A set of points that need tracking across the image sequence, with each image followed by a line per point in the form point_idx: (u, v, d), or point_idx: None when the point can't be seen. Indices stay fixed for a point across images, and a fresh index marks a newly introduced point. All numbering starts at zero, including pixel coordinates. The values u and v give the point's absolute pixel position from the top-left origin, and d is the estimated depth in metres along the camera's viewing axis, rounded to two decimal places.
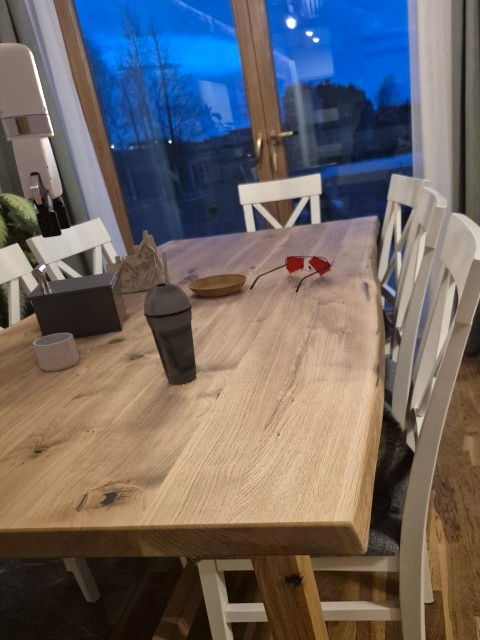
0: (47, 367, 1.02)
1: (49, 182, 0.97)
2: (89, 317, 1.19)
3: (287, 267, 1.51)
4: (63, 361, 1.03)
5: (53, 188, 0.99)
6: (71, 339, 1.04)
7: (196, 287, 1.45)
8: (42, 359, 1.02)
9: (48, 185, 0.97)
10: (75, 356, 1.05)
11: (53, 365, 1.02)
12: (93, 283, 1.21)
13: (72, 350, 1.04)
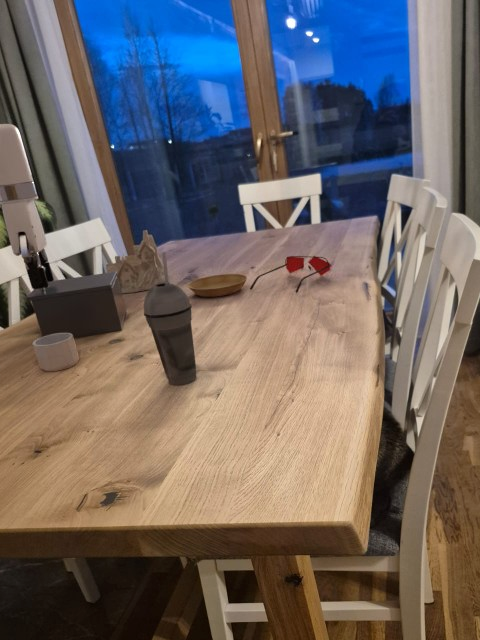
0: (47, 367, 1.02)
1: (34, 240, 1.13)
2: (89, 317, 1.19)
3: (287, 267, 1.51)
4: (63, 361, 1.03)
5: (37, 244, 1.15)
6: (71, 339, 1.04)
7: (196, 287, 1.45)
8: (42, 359, 1.02)
9: (33, 242, 1.13)
10: (75, 356, 1.05)
11: (53, 365, 1.02)
12: (93, 283, 1.21)
13: (72, 350, 1.04)
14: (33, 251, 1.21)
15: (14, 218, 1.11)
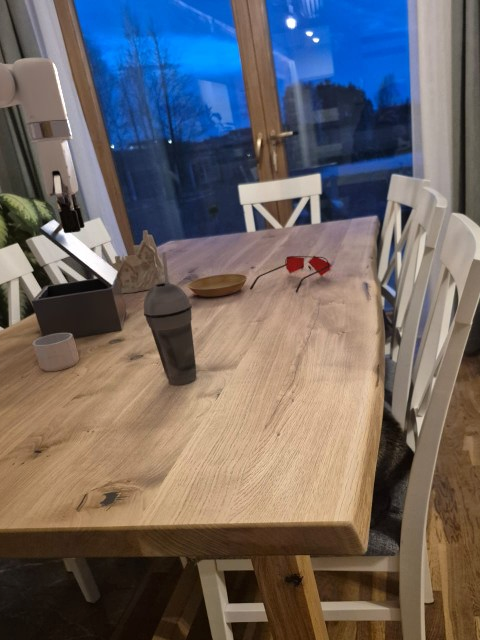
0: (47, 367, 1.02)
1: (68, 180, 1.10)
2: (89, 317, 1.19)
3: (287, 267, 1.51)
4: (63, 361, 1.03)
5: (71, 185, 1.12)
6: (71, 339, 1.04)
7: (196, 287, 1.45)
8: (42, 359, 1.02)
9: (67, 182, 1.10)
10: (75, 356, 1.05)
11: (53, 365, 1.02)
12: (98, 268, 1.20)
13: (72, 350, 1.04)
14: None
15: (49, 156, 1.08)
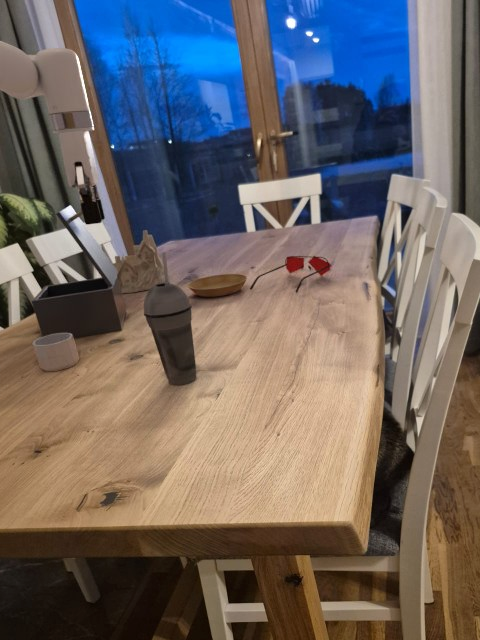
0: (47, 367, 1.02)
1: (90, 171, 1.10)
2: (89, 317, 1.19)
3: (287, 267, 1.51)
4: (63, 361, 1.03)
5: (93, 176, 1.12)
6: (71, 339, 1.04)
7: (196, 287, 1.45)
8: (42, 359, 1.02)
9: (89, 173, 1.10)
10: (75, 356, 1.05)
11: (53, 365, 1.02)
12: (103, 265, 1.19)
13: (72, 350, 1.04)
14: None
15: (71, 147, 1.08)
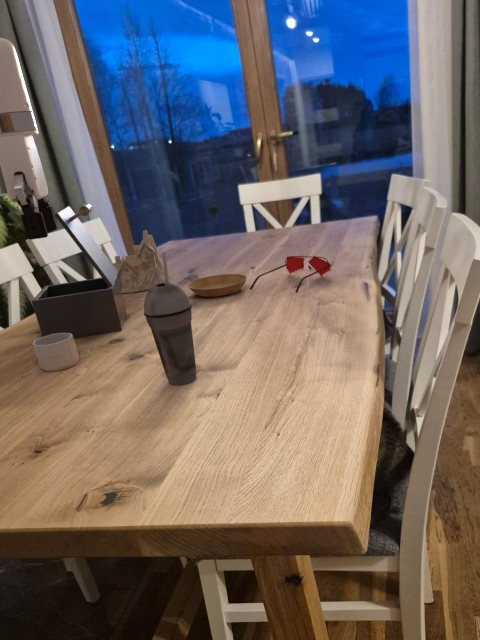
0: (47, 367, 1.02)
1: (34, 182, 0.94)
2: (89, 317, 1.19)
3: (287, 267, 1.51)
4: (63, 361, 1.03)
5: (38, 188, 0.95)
6: (71, 339, 1.04)
7: (196, 287, 1.45)
8: (42, 359, 1.02)
9: (33, 185, 0.94)
10: (75, 356, 1.05)
11: (53, 365, 1.02)
12: (102, 265, 1.19)
13: (72, 350, 1.04)
14: None
15: (10, 154, 0.92)
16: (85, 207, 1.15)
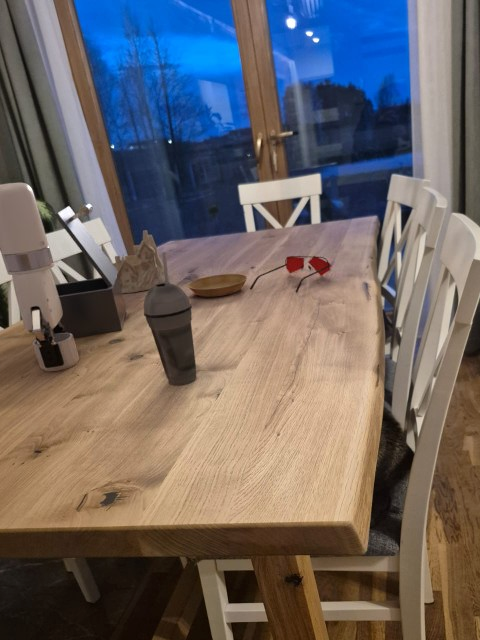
0: None
1: (49, 315, 0.97)
2: (89, 317, 1.19)
3: (287, 267, 1.51)
4: None
5: (53, 319, 0.99)
6: (71, 339, 1.04)
7: (196, 287, 1.45)
8: (42, 359, 1.02)
9: (48, 317, 0.97)
10: (75, 356, 1.05)
11: None
12: (102, 265, 1.19)
13: (72, 350, 1.04)
14: None
15: (27, 291, 0.95)
16: (85, 207, 1.15)
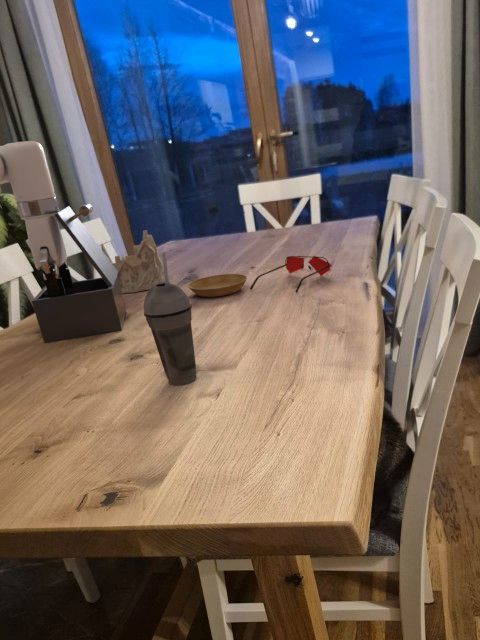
0: None
1: (56, 254, 1.15)
2: (89, 317, 1.19)
3: (287, 267, 1.51)
4: None
5: (59, 258, 1.16)
6: None
7: (196, 287, 1.45)
8: None
9: (55, 257, 1.15)
10: None
11: None
12: (102, 265, 1.19)
13: None
14: None
15: (37, 233, 1.13)
16: (85, 207, 1.15)
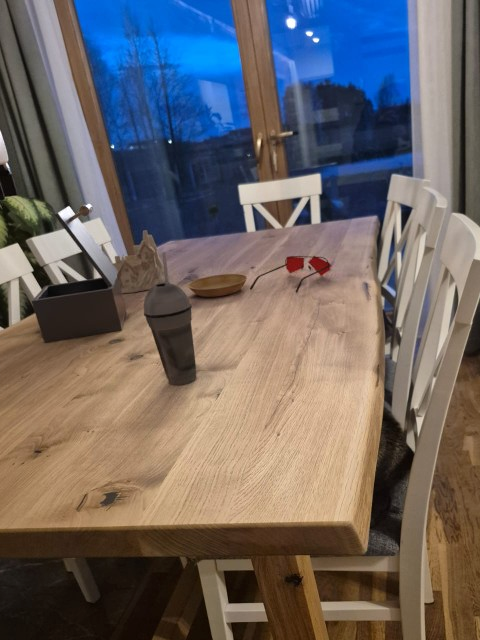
0: None
1: None
2: (89, 317, 1.19)
3: (287, 267, 1.51)
4: None
5: None
6: None
7: (196, 287, 1.45)
8: None
9: None
10: None
11: None
12: (102, 265, 1.19)
13: None
14: None
15: None
16: (85, 207, 1.15)
